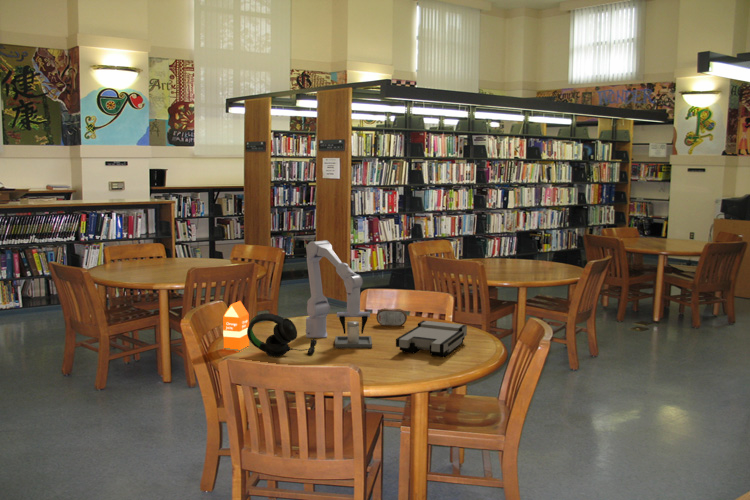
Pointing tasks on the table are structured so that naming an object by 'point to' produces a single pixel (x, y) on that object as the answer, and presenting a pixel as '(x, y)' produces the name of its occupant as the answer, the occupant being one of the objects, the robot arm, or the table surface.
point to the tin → (391, 317)
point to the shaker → (353, 332)
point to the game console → (433, 338)
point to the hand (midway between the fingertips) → (353, 333)
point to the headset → (276, 335)
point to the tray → (343, 343)
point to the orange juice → (236, 327)
